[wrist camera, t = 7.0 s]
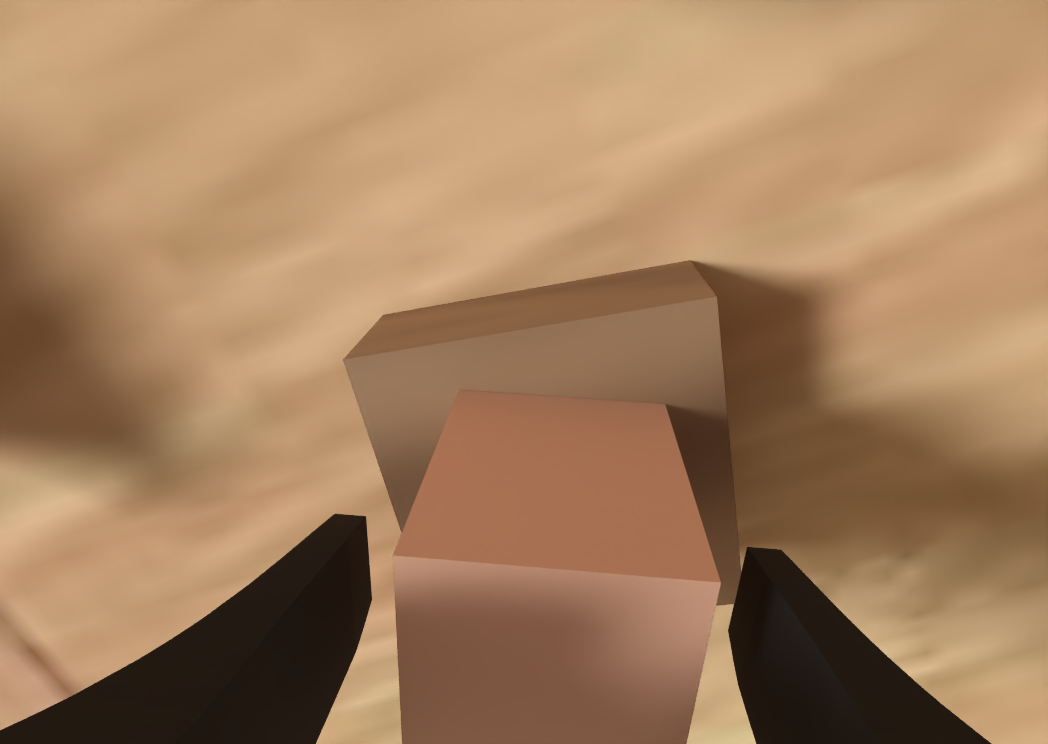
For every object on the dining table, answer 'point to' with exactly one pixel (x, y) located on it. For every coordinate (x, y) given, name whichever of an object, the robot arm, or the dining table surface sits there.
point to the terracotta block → (552, 578)
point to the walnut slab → (559, 375)
